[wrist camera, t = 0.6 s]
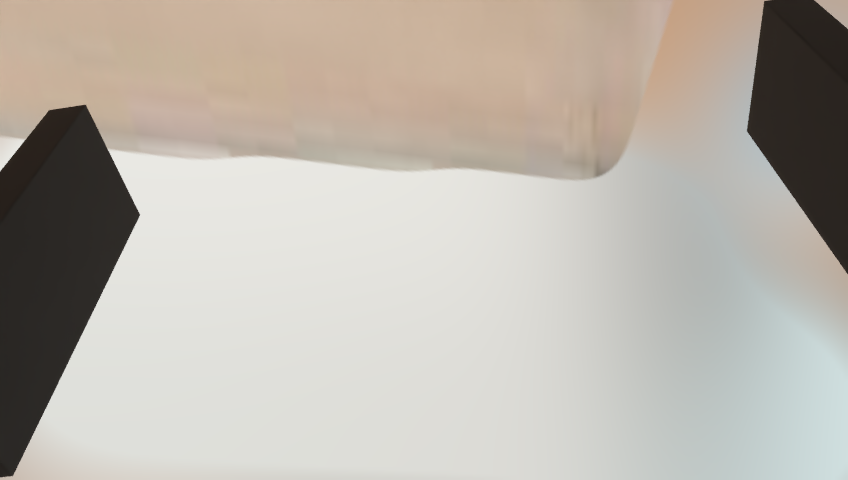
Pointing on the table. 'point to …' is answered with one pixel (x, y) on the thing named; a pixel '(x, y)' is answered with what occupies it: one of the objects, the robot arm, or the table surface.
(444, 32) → the table surface
